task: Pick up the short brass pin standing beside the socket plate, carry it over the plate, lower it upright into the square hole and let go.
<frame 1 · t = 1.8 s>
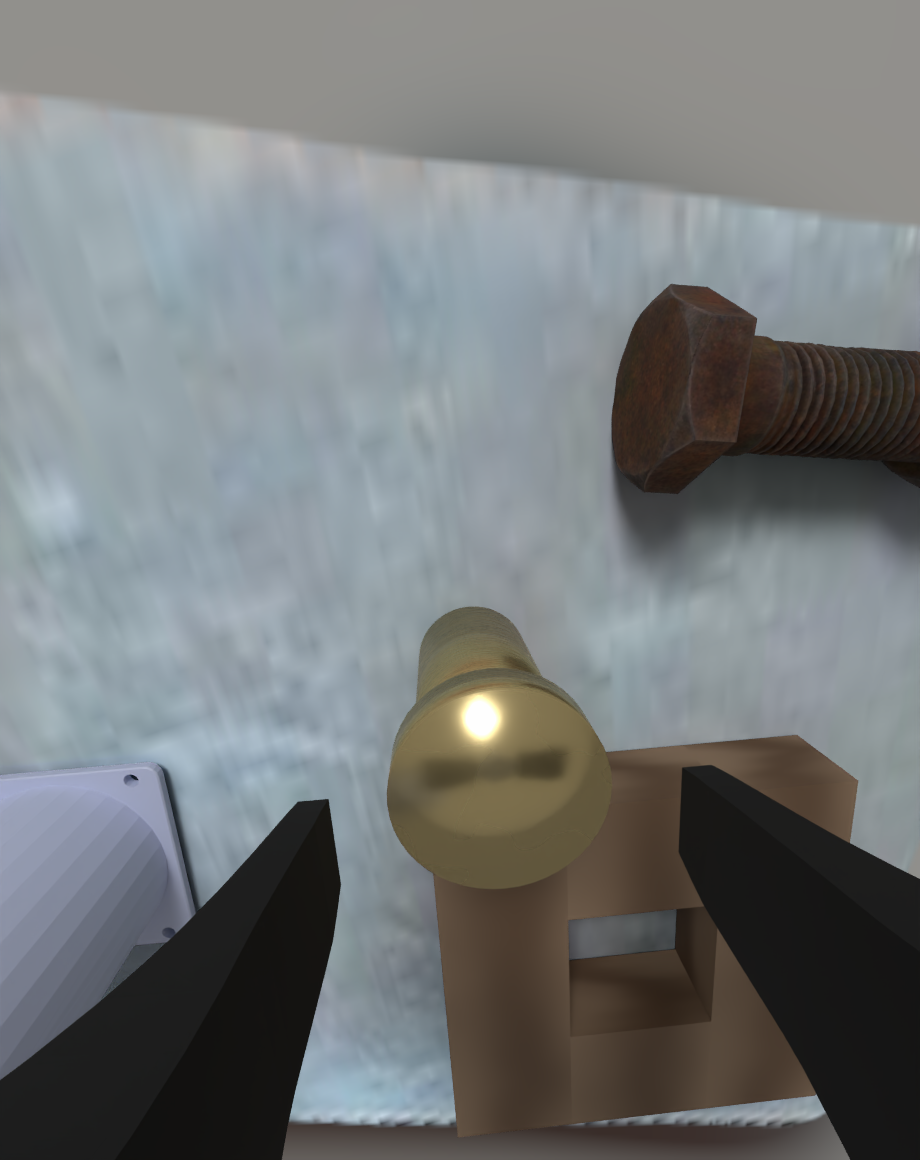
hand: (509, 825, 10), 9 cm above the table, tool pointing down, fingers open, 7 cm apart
socket plate: (614, 904, 22), on the table
bolt: (814, 418, 18), on the table
brass pin: (472, 657, 19), on the table
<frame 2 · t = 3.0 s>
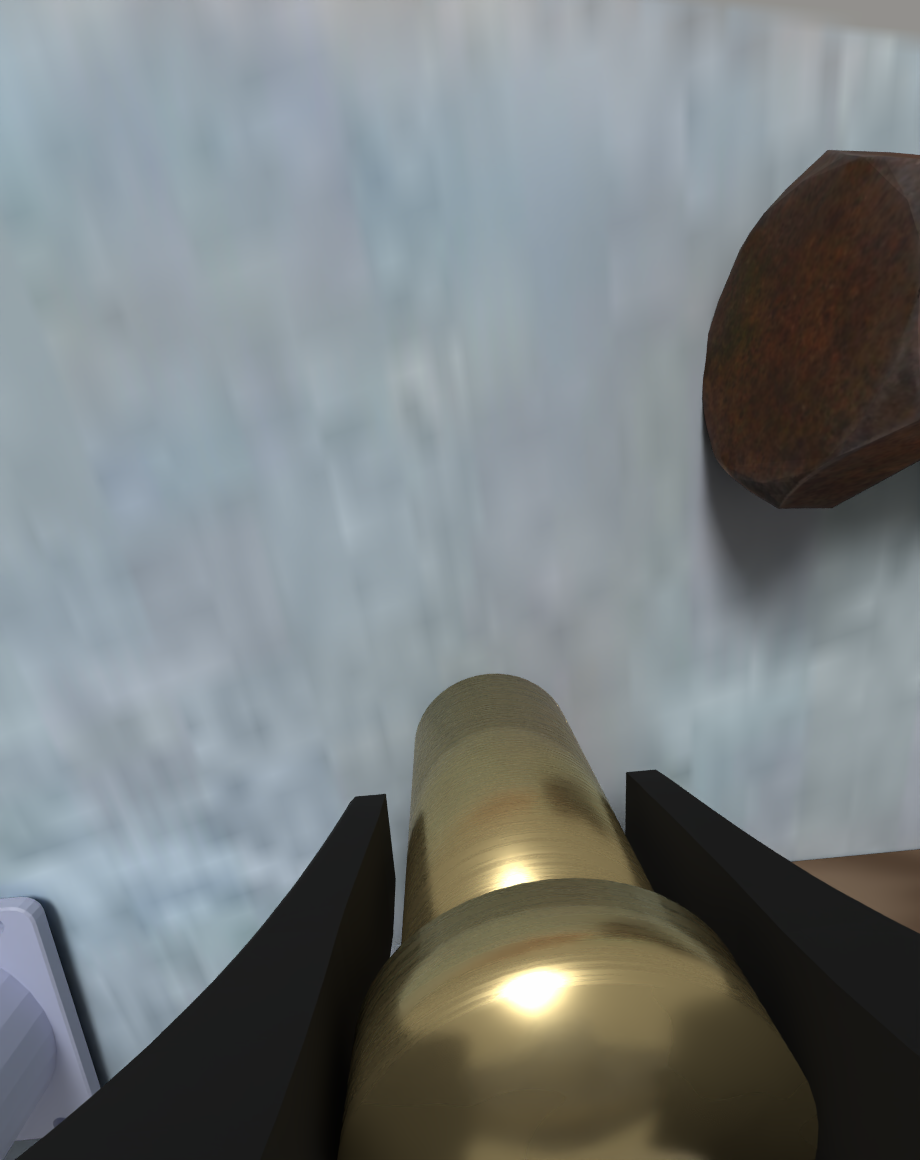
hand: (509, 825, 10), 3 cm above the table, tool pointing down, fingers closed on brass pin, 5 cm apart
socket plate: (683, 1068, 16), on the table
brass pin: (492, 745, 13), on the table, touching gripper
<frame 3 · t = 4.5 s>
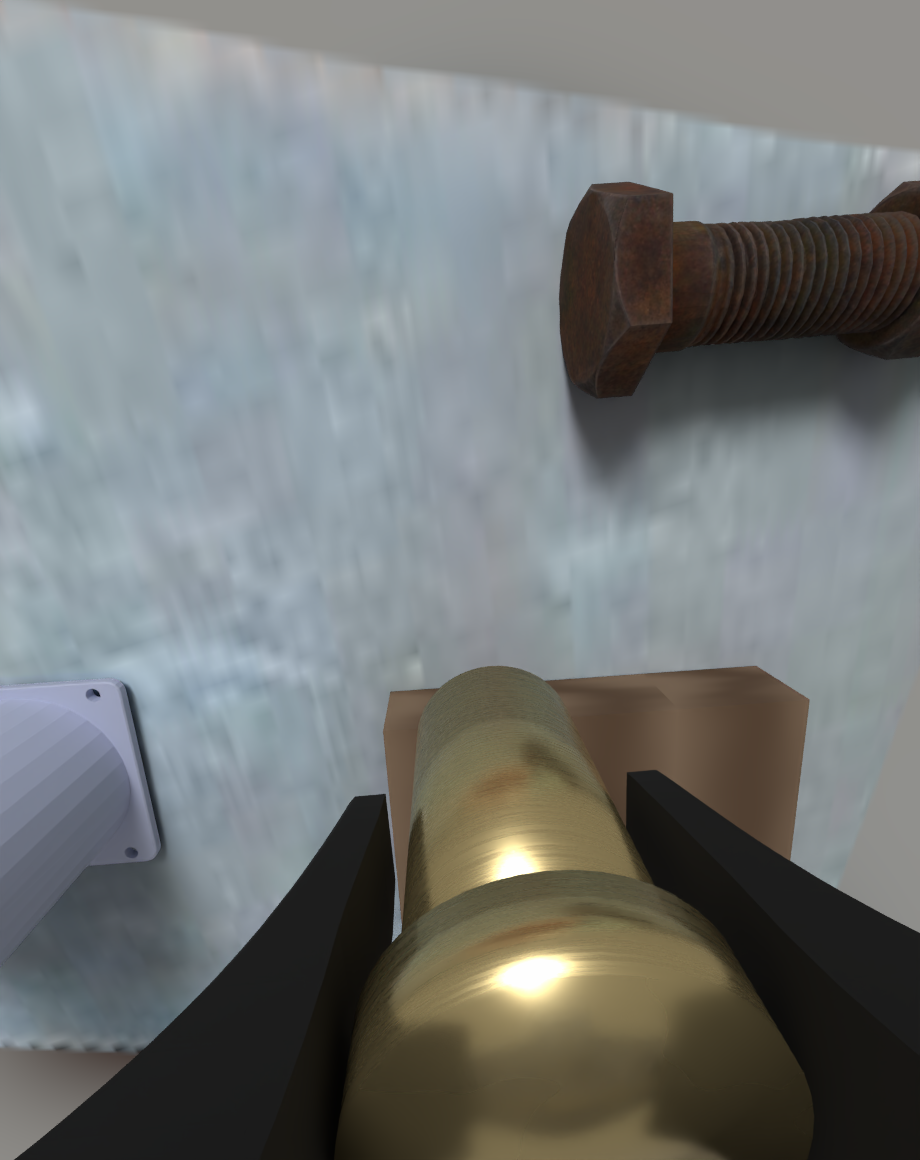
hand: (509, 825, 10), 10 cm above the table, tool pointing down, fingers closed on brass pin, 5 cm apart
socket plate: (575, 836, 22), on the table
bolt: (765, 308, 18), on the table
brass pin: (494, 737, 13), point 7 cm above the table, touching gripper
when the fingers open (4 cm above the table, at t = 7.6 s): brass pin drops 1 cm, resting in socket plate.
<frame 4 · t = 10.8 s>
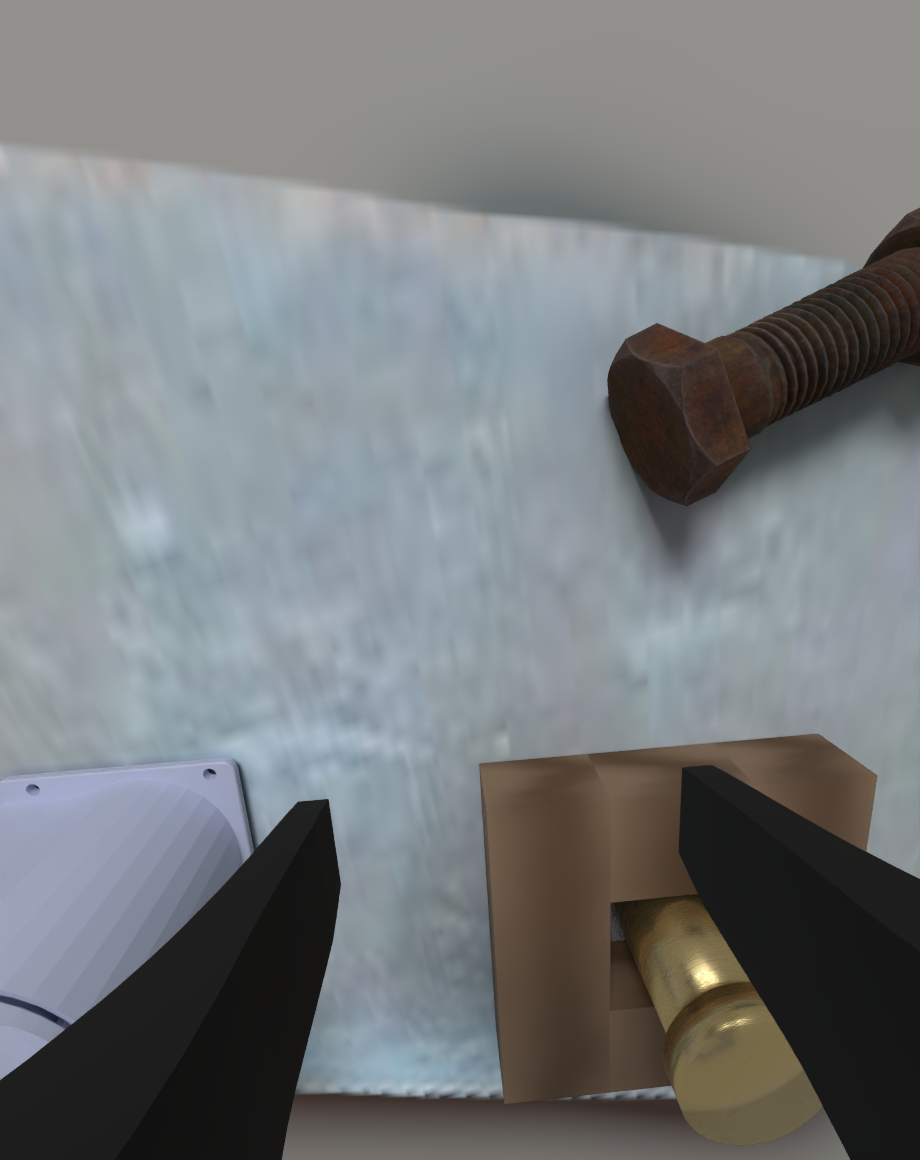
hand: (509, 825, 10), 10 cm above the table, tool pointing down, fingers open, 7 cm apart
socket plate: (647, 890, 23), on the table
bolt: (800, 349, 19), on the table
brass pin: (647, 880, 23), resting in socket plate
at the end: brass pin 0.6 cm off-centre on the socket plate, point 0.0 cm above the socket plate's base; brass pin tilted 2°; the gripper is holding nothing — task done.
